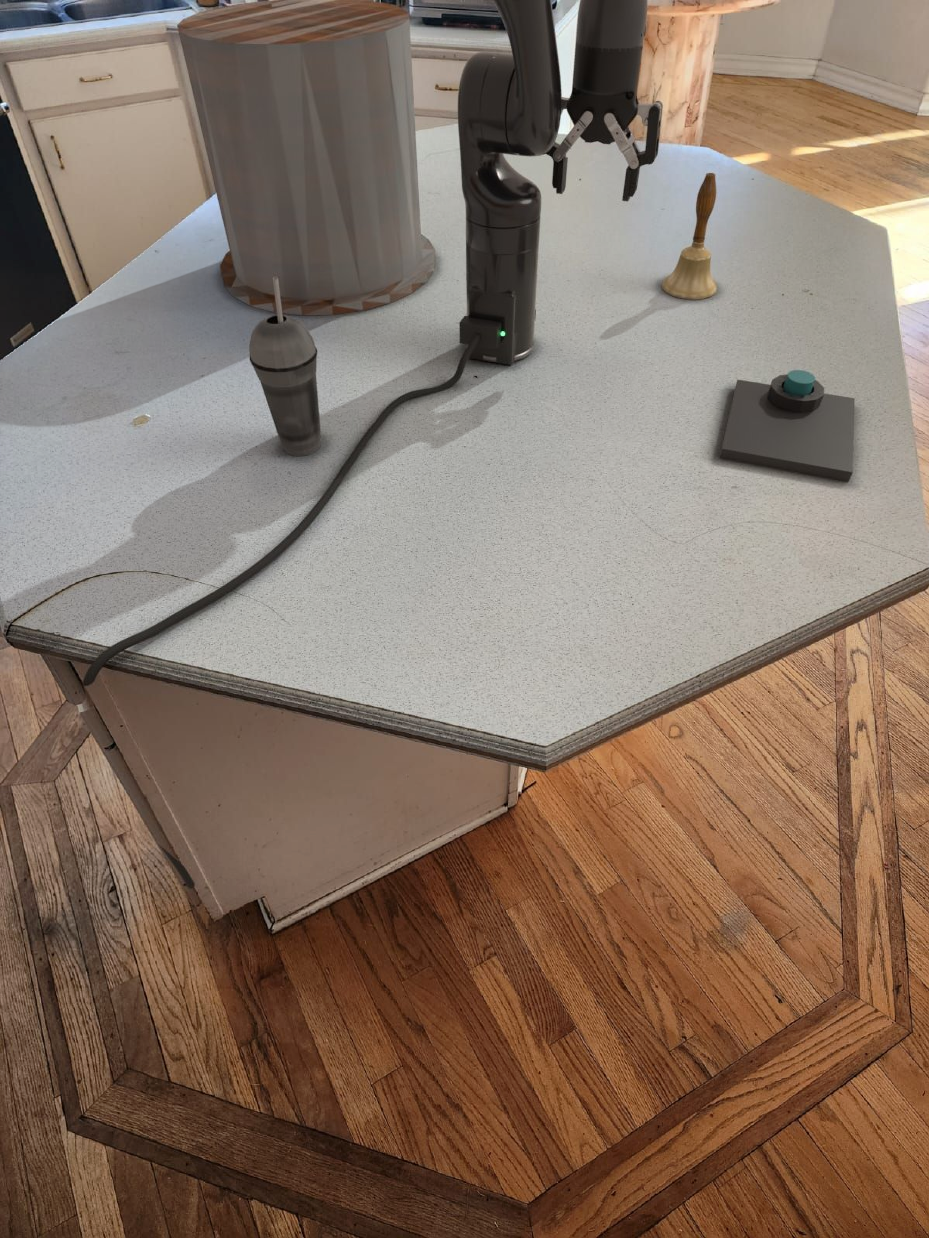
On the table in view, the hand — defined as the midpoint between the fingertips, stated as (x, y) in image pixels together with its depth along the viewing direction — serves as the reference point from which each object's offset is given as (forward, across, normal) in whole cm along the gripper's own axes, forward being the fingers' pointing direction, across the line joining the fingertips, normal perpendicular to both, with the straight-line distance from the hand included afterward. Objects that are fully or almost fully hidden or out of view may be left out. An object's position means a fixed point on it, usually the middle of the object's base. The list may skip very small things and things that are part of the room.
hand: (593, 195), depth 96 cm
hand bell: (+18, +13, +18) cm, 28 cm away
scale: (+17, +30, -19) cm, 39 cm away
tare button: (+15, +30, -13) cm, 36 cm away
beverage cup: (+18, -24, -39) cm, 49 cm away
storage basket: (+18, -44, +8) cm, 48 cm away
